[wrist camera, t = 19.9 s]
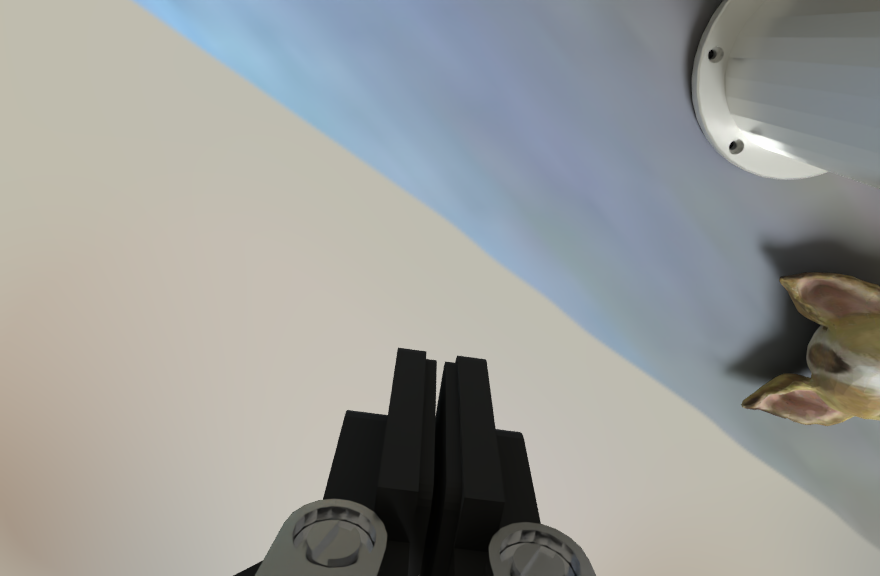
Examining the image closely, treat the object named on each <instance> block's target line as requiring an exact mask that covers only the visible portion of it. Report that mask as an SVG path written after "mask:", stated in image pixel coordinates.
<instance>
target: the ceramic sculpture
mask: <svg viewBox="0 0 880 576" xmlns="http://www.w3.org/2000/svg"><path fill="white" fill-rule="evenodd" d="M779 281H780V283H781V284H782V285H783V286H784V288H785V289H786V290H787V291H788V293H789V295H790V297H791V299H792V301H793V303H794V305H795V306H796V308H797V310H798V312H799V313H801V314H802V315H803V316H805V317H806V318H808V319H810V320H812V321H814V322H816V323H818V324H820V325H821V326H820V327H819V328H818V329H817V330H816V332H815V333H814V335H813V337H812V339H811V340H810V342H809V344H808V347H807V356H806V359H807V364H808V367H809V369H810V371H811V373H812V375H811V378H809V377H805V376H802V375H798V374H791V373H785V374H782V375H779V376H777V377H775V378H774V379H772V380H771V381H769V382H768V383H766V384H765V385H763V386H762V387H760V388H759V389H758V390H757V391H756V392H754V393H753V394H751V395H750V396H749V397H747V398H746V399H745V400H743V402H742V404H741V405H742V407H743V408H746V409H754V410H757V409H759V410H762V411H765V412H768V413H771V414H773V415H776V416H779V417H782V418H789V419H790V420H792V421H794V422H798V423H801V424H805V425H811V424H820V425H824V426H831V425H834V424H838V423H841V422H844V421H845V420H847V419H850V418H852V417H853V416H857V417H860V418H863V419H874V420H880V286H878V285H876V284H872V283H869V282H866V281H863V280H860V279H857V278H855V277H853V276H848V275H842V274H836V273H820V272H809V273H807V272H805V273H800V274H795V275H789V276H783V277H780V279H779Z"/></svg>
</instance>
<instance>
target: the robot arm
mask: <svg viewBox="0 0 880 576" xmlns="http://www.w3.org/2000/svg"><path fill="white" fill-rule="evenodd" d="M710 50H713V52H714V55H713V57H712V58H711V59H708V53H709V51H710ZM692 101H693V105H694V109H695V113H696V117H697V121H698V123H699V125H700V127H701V129H702V131H703V133H704V135H705V137H706V139H707V140H708V141H709V142H710V144H711V145H712V146H713V148H714V149H715V150H716V151H717V152H718V153H719V154H720V155H721V156H723V157H724V158H725V159H726V160H727V161H729V162H730V163H731V164H733V165H735V166H737V167H739V168H741V169H743V170H745V171H747V172H750V173H753V174H755V175H758V176H761V177H765V178H772V179H779V180H792V179H804V178H809V177H813V176H818V175H822V174H824V173H827V172H832V173H835V174H838V175H841V176H844V177H846V178H849V179H852V180H855V181H858V182H861V183H864V184H866V185H869V186H872V187H875V188H878V189H880V0H723V1H722V3H721V4H720V5H719V7H718V8H717V10H716V11H715V12H714V14H713V15H712V17H711V19H710V21H709V23H708V25H707V27H706V29H705V31H704V32H703V34H702V37H701V40H700V43H699V46H698V49H697V52H696V55H695V59H694V66H693V73H692ZM732 141H733V142H734V145H733V147H732V148H730V149H729V145H730V143H731V142H732ZM436 366H437V362H436V360H429V359H426V352H425V351H419V350H410V349H404V348H398V352H397V358H396V365H395V371H394V378H393V385H392V392H391V398H390V405H389V412H388V415H382V414H374V413H366V412H358V411H350V410H347V411H346V414H345V417H344V421H343V425H342V429H341V433H340V437H339V440H338V444H337V448H336V452H335V456H334V459H333V463H332V467H331V471H330V475H329V478H328V482H327V486H326V490H325V494H324V497H323V500H318V501H315V502H312V503H309V504H306V505H304V506H302V507H301V508H299V509H298V510H296V511H294V512H293V513H292V514H291V515H290V516H289V518H288V519H287V520H286V521H285V522H284V524H283V526H282V528H281V529H280V531H279V533H278V535H277V537H276V539H275V540H274V542H273V544H272V546H271V547H270V549H269V551H268V553H267V555H266V556H265V558H264V560H263V561H261V562H259V563H257V564H255V565H253V566H252V567H250V568H247V569H246V570H244V571H242V572H240V573H238V574H236V575H234V576H596V574H595V572H594V570H593V568H592V565H591V563H590V561H589V559H588V558H587V556H586V554H585V553H584V551H583V550H582V548H581V547H580V546H579V545H578V544H576V542H574V541H573V540H572V539H571V538H570V537H568V536H567V535H565V534H564V533H562V532H560V531H558V530H556V529H554V528H551V527H549V526H545V525H543V524H541V523H540V518H539V513H538V508H537V503H536V498H535V492H534V487H533V483H532V477H531V472H530V467H529V462H528V457H527V452H526V447H525V442H524V438H523V435H522V433H520V432H514V431H506V430H498V429H495V423H494V415H493V407H492V400H491V392H490V384H489V376H488V369H487V362H486V360H485V359H478V358H471V357H463V356H457V358H456V362H455V363H452V362H445V365H444V370H443V376H442V382H441V388H440V393H439V400H438V406H437V411H436V417H435V408H436ZM419 574H420V575H419Z"/></svg>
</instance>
